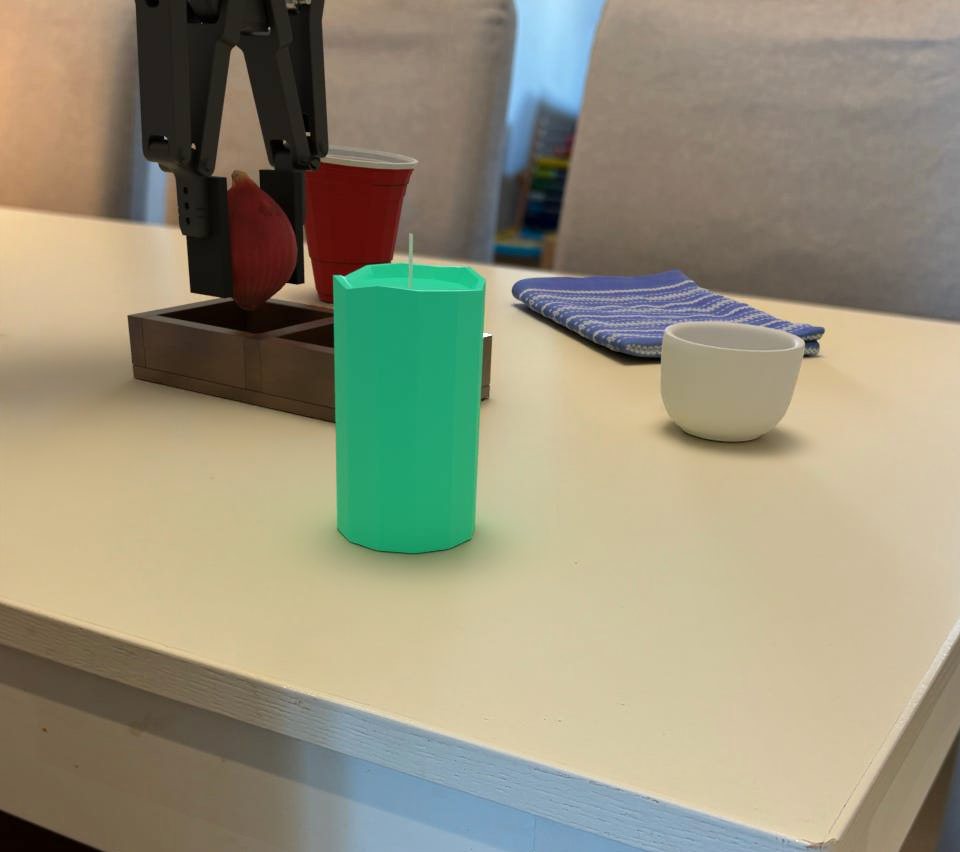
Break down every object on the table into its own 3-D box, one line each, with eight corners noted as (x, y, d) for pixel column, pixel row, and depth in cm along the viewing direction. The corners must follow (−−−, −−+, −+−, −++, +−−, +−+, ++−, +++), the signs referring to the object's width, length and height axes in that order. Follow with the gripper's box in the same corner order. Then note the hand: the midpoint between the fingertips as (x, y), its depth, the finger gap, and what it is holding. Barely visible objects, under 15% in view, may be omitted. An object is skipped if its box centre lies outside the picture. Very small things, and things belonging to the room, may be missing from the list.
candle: (420, 494, 52) (426, 221, 46) (504, 534, 47) (521, 240, 42) (310, 519, 48) (302, 227, 43) (390, 564, 44) (392, 248, 39)
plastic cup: (386, 316, 89) (387, 154, 84) (267, 302, 92) (260, 145, 87) (434, 295, 98) (438, 149, 93) (324, 284, 101) (322, 141, 96)
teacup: (818, 444, 62) (836, 347, 59) (703, 456, 59) (717, 354, 56) (714, 399, 70) (726, 312, 67) (609, 408, 67) (618, 317, 64)
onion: (287, 300, 72) (282, 167, 68) (308, 317, 67) (304, 175, 63) (196, 302, 70) (186, 165, 66) (210, 320, 65) (200, 173, 61)
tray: (133, 377, 68) (126, 315, 67) (246, 349, 76) (243, 293, 75) (393, 435, 60) (393, 365, 58) (489, 397, 68) (492, 334, 66)
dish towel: (677, 299, 102) (681, 267, 101) (828, 356, 82) (835, 318, 81) (504, 302, 97) (506, 269, 96) (621, 364, 77) (625, 323, 76)
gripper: (141, -223, 48) (184, 318, 59) (389, -145, 63) (388, 277, 73) (25, -210, 51) (85, 300, 62) (286, -139, 66) (299, 264, 77)
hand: (249, 287), depth 68 cm, fingers closed on onion, 6 cm apart
